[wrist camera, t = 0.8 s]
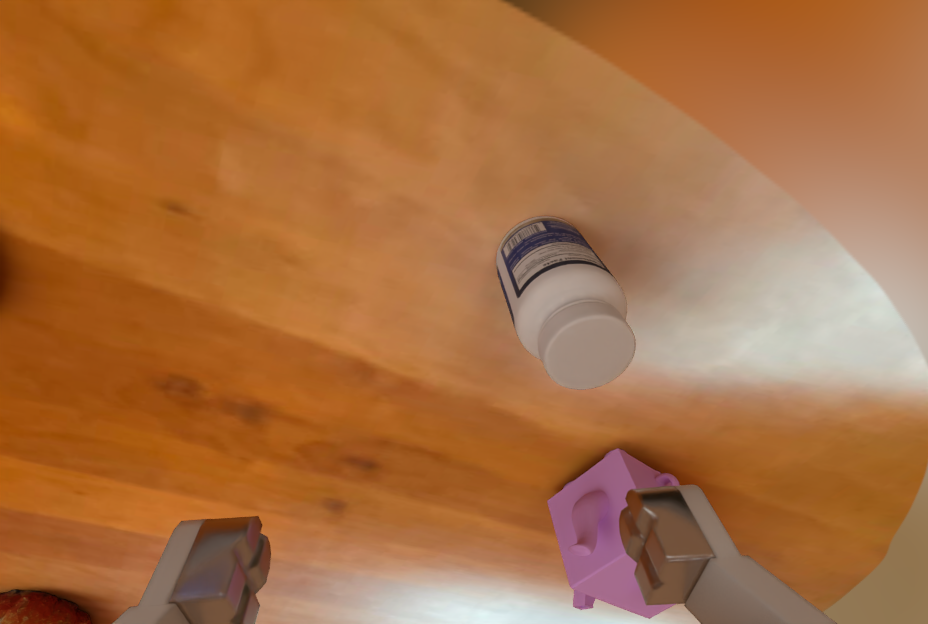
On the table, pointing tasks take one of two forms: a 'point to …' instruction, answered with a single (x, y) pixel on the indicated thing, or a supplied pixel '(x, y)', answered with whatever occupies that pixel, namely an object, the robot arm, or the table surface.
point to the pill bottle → (564, 303)
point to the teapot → (603, 532)
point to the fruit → (39, 609)
